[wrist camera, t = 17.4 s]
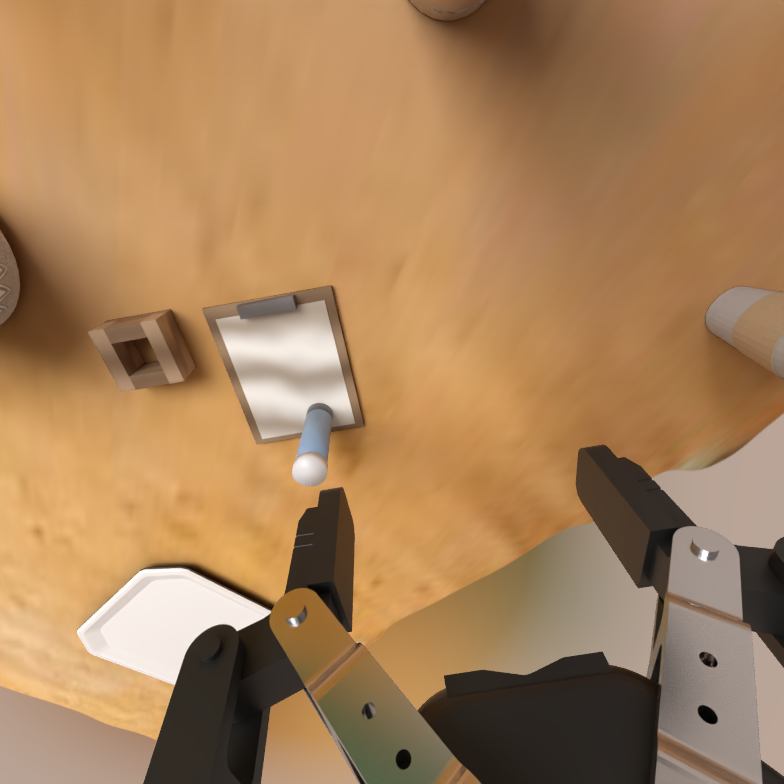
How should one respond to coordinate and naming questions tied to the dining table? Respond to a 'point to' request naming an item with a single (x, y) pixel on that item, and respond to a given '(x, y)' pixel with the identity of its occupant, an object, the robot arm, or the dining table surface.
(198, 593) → the plate
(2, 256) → the planter
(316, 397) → the clipboard
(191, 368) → the pen block
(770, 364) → the coffee cup
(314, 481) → the marker
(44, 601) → the dining table surface
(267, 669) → the robot arm
